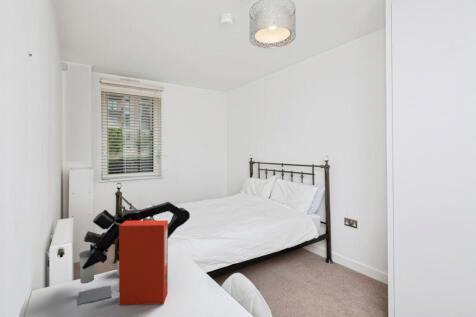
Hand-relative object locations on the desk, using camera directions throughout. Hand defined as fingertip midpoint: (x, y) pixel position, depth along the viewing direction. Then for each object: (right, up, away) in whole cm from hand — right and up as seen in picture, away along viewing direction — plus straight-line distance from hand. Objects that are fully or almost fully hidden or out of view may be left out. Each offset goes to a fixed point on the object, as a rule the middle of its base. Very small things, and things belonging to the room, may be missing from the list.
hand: (83, 265), depth 108 cm
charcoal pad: (+5, -13, +1) cm, 14 cm away
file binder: (+27, -13, -2) cm, 30 cm away
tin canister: (+1, -7, +1) cm, 7 cm away
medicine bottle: (+10, -12, +20) cm, 26 cm away
